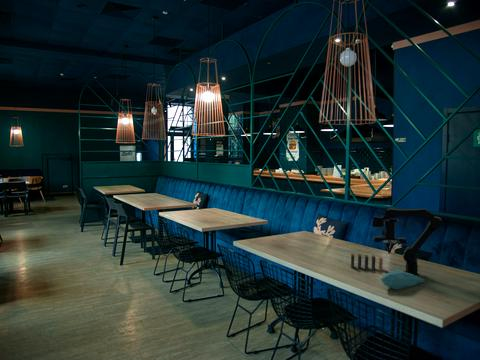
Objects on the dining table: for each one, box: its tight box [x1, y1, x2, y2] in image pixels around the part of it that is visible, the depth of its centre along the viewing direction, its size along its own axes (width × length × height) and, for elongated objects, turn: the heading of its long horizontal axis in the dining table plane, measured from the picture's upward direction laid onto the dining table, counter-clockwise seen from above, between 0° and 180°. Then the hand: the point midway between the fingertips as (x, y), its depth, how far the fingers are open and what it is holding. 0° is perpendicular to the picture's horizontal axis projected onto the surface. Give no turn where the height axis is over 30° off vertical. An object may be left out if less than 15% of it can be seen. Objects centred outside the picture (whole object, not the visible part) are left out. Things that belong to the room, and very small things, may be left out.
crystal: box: [380, 269, 425, 291], centre depth 199 cm, size 10×34×10 cm, turn 114°
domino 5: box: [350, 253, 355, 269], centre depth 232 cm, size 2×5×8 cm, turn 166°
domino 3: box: [364, 254, 369, 270], centre depth 230 cm, size 2×5×8 cm, turn 166°
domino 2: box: [371, 255, 376, 271], centre depth 229 cm, size 2×5×8 cm, turn 166°
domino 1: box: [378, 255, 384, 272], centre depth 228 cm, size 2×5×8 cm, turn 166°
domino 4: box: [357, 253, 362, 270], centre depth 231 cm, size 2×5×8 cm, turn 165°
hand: (389, 253), depth 226 cm, fingers closed
